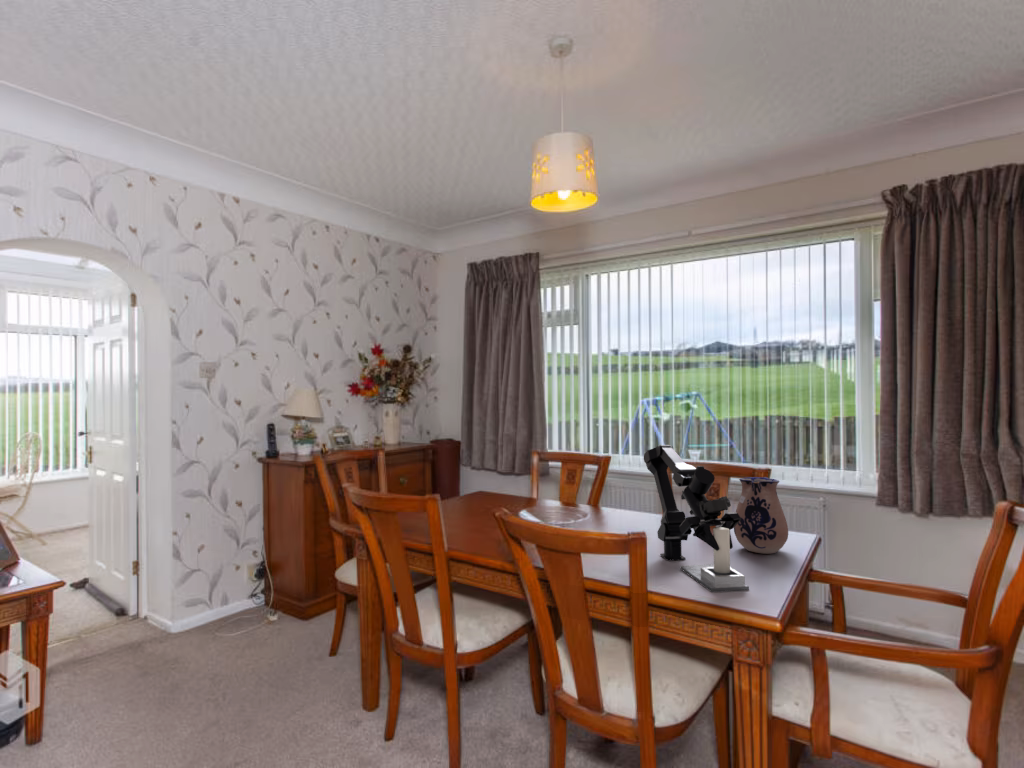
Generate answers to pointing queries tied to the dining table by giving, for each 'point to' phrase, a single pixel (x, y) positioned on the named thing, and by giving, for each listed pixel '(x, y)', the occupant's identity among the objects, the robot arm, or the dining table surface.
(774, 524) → the ceramic pitcher
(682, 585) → the dining table surface
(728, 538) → the peg
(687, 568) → the socket
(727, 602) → the dining table surface
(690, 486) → the robot arm
